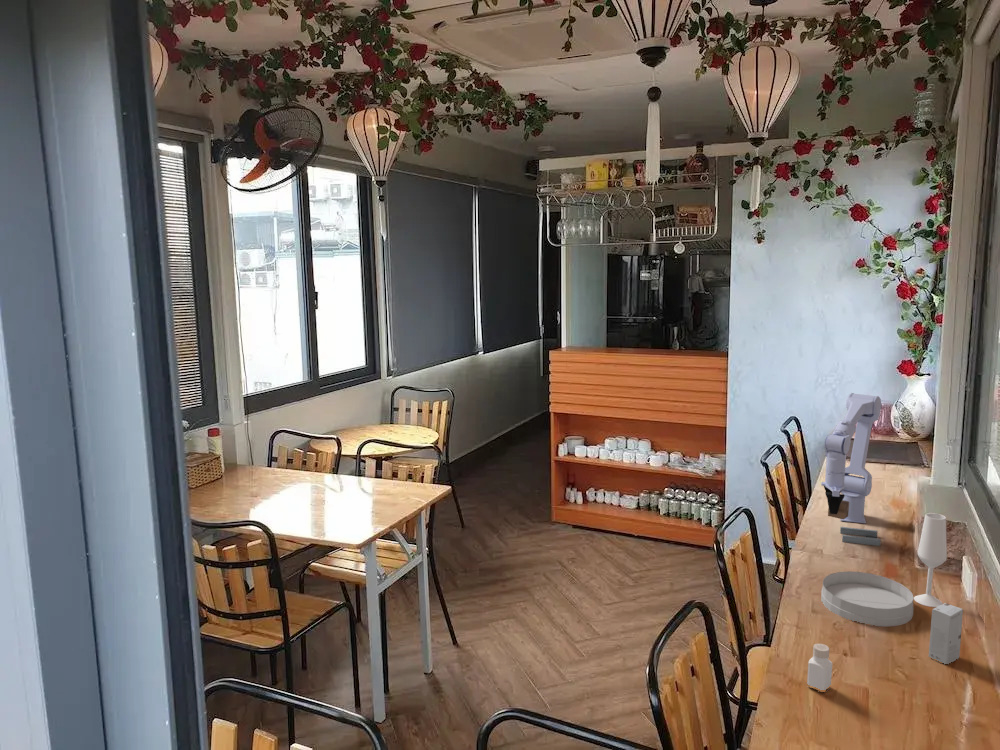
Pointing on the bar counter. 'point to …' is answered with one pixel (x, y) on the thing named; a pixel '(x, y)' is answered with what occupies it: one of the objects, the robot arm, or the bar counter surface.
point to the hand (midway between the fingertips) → (832, 510)
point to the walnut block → (841, 510)
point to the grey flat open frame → (868, 539)
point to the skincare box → (945, 633)
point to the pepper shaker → (820, 668)
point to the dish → (867, 598)
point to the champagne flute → (932, 552)
